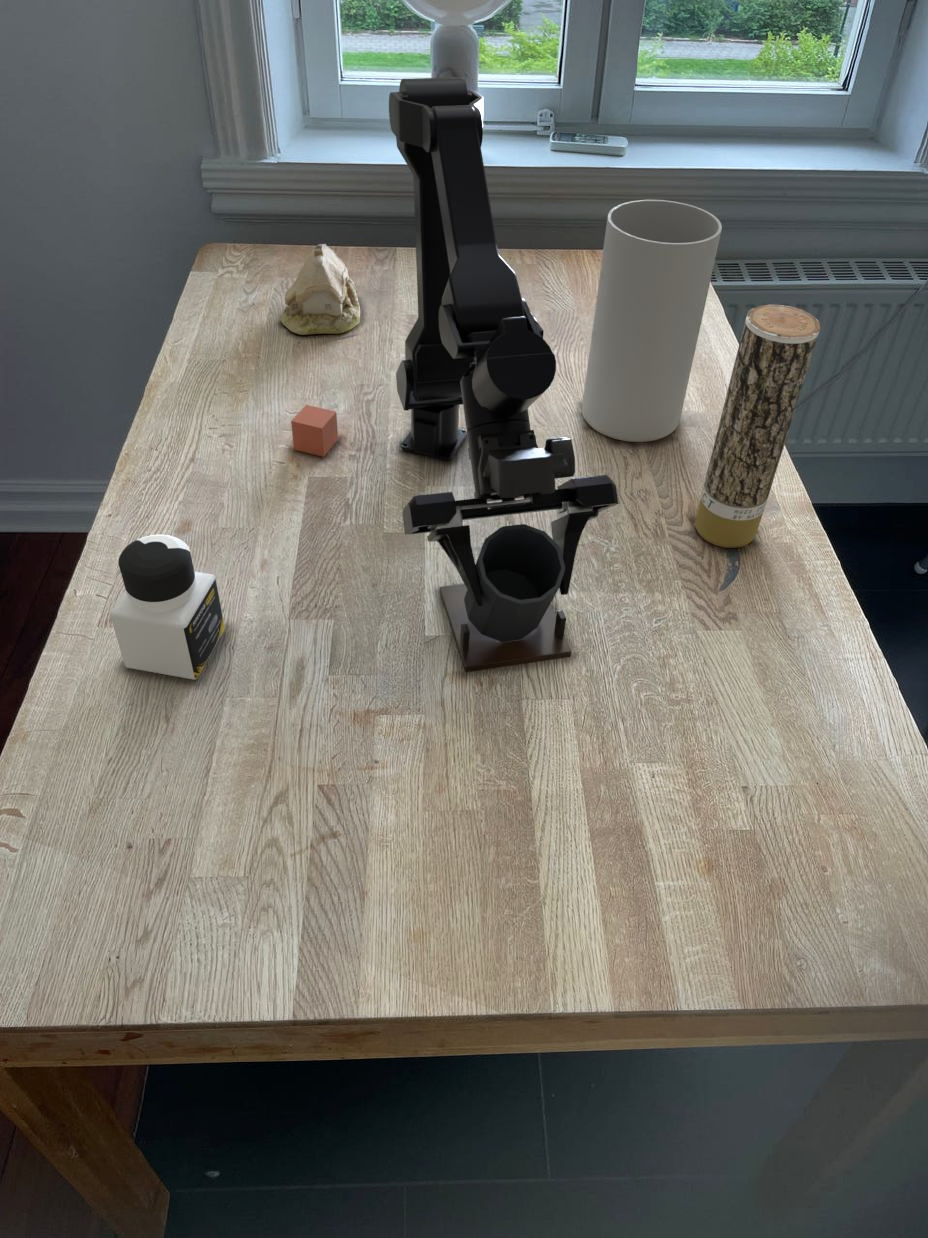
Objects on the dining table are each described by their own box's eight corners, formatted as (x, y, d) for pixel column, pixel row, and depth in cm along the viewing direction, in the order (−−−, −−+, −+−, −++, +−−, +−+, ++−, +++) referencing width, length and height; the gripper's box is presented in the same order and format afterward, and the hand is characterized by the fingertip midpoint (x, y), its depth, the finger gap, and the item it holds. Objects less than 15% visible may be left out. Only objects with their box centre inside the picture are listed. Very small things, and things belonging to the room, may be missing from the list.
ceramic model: (357, 338, 137) (354, 269, 130) (277, 335, 137) (270, 266, 130) (365, 294, 147) (363, 227, 140) (291, 290, 147) (285, 224, 140)
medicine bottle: (197, 682, 89) (175, 584, 81) (124, 668, 90) (94, 570, 81) (226, 629, 94) (208, 531, 86) (157, 617, 95) (132, 519, 86)
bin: (458, 573, 95) (471, 529, 86) (533, 564, 96) (553, 520, 88) (473, 646, 92) (488, 608, 84) (550, 635, 94) (572, 597, 85)
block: (308, 432, 119) (306, 404, 116) (338, 439, 118) (336, 411, 115) (293, 449, 116) (290, 420, 114) (324, 457, 115) (321, 428, 113)
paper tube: (758, 520, 109) (823, 312, 92) (751, 557, 105) (818, 344, 87) (698, 507, 111) (751, 299, 94) (688, 542, 106) (742, 330, 89)
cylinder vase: (568, 430, 122) (593, 230, 104) (596, 384, 130) (624, 192, 113) (666, 454, 118) (709, 252, 101) (688, 405, 127) (731, 211, 110)
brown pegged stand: (439, 592, 99) (439, 567, 96) (537, 579, 101) (540, 554, 98) (465, 672, 91) (466, 647, 89) (570, 657, 93) (574, 631, 90)
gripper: (408, 416, 78) (434, 610, 77) (627, 395, 81) (653, 581, 81) (392, 445, 89) (415, 615, 88) (586, 426, 92) (608, 589, 92)
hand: (522, 600), depth 87 cm, fingers closed on bin, 7 cm apart
